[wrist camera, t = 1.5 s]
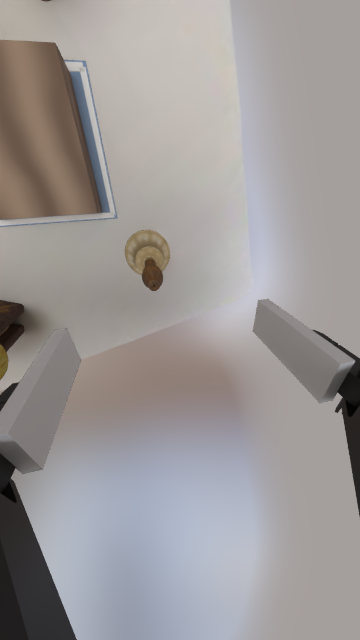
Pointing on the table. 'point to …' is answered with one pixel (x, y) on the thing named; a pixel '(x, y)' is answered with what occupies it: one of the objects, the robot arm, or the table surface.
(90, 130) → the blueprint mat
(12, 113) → the walnut plinth
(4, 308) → the book
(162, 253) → the hand bell
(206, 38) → the table surface
